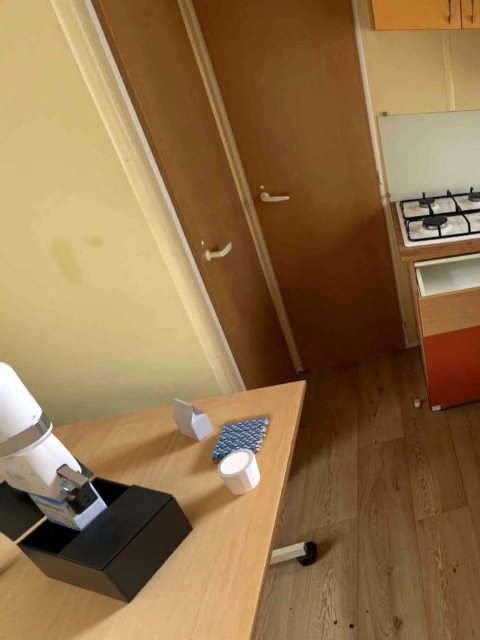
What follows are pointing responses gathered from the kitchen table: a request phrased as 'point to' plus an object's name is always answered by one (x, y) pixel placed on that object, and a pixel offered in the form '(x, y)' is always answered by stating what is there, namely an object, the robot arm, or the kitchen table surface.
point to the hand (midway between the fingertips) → (68, 500)
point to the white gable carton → (191, 420)
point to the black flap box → (112, 541)
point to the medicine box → (68, 509)
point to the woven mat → (240, 438)
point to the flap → (22, 508)
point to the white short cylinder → (239, 471)
